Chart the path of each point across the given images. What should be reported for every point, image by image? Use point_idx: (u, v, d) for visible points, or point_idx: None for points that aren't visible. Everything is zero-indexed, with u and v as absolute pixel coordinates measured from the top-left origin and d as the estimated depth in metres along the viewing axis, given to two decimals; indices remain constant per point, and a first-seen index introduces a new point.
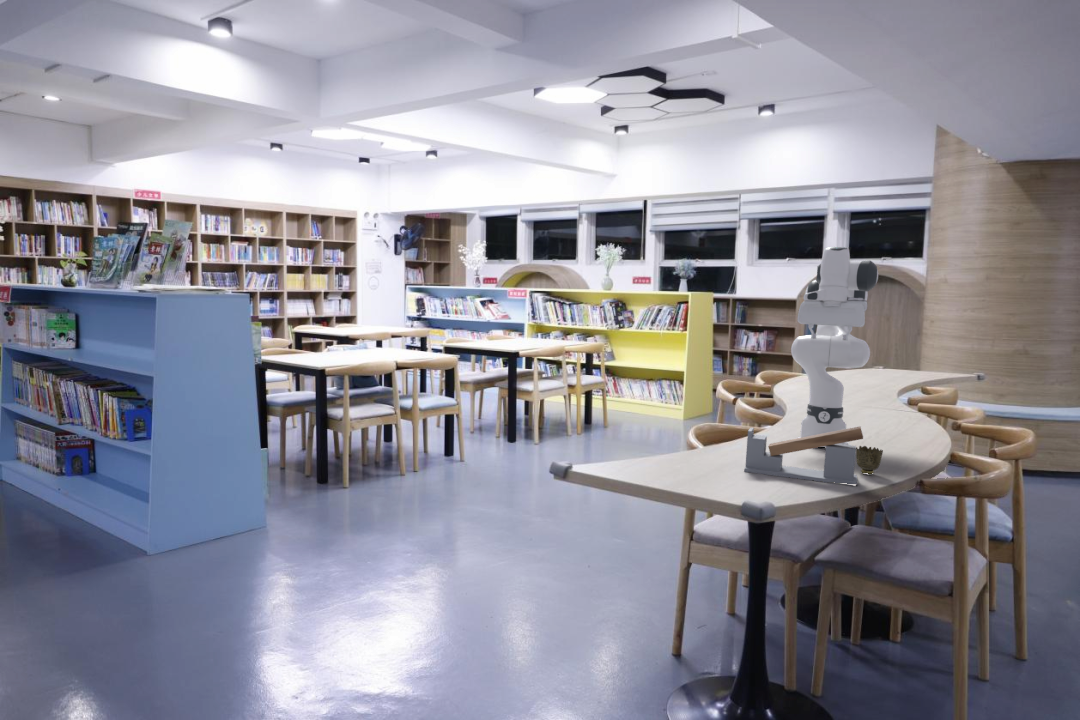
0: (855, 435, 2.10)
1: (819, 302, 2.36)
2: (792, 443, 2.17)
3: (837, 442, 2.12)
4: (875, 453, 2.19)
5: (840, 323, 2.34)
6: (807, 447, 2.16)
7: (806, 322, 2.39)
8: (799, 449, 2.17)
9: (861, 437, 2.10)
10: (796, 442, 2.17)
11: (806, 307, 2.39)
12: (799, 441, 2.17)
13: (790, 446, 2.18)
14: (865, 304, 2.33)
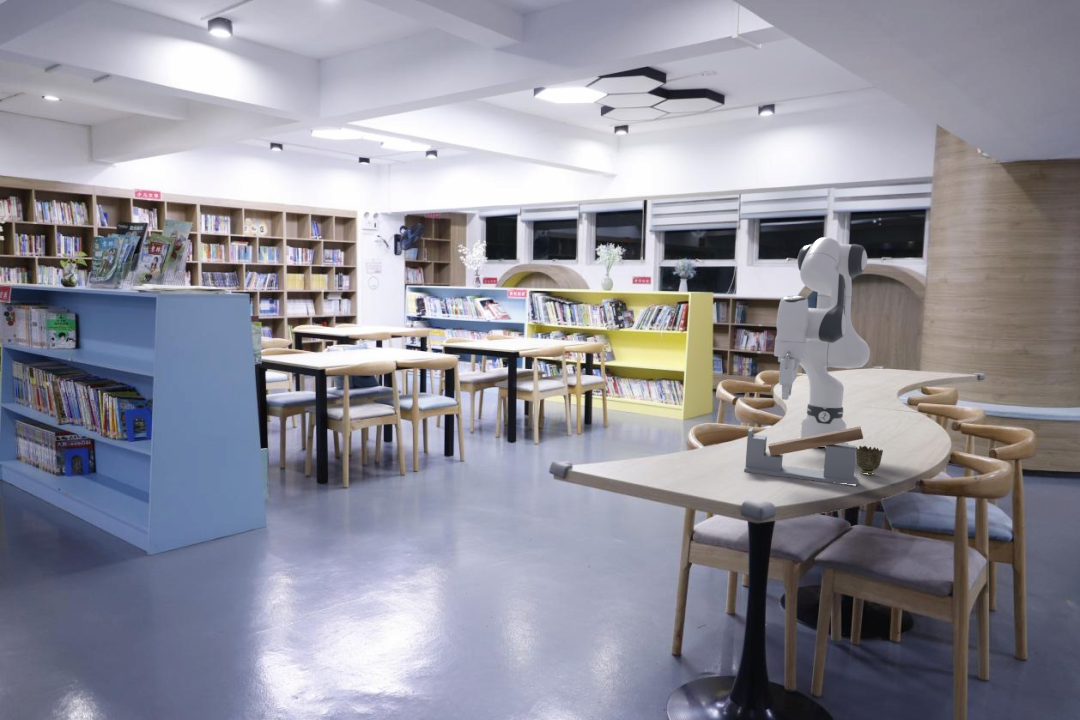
0: (855, 435, 2.10)
1: None
2: (792, 443, 2.17)
3: (837, 442, 2.12)
4: (875, 453, 2.19)
5: None
6: (807, 447, 2.16)
7: None
8: (799, 449, 2.17)
9: (861, 437, 2.10)
10: (796, 442, 2.17)
11: None
12: (799, 441, 2.17)
13: (790, 446, 2.18)
14: (785, 360, 2.09)
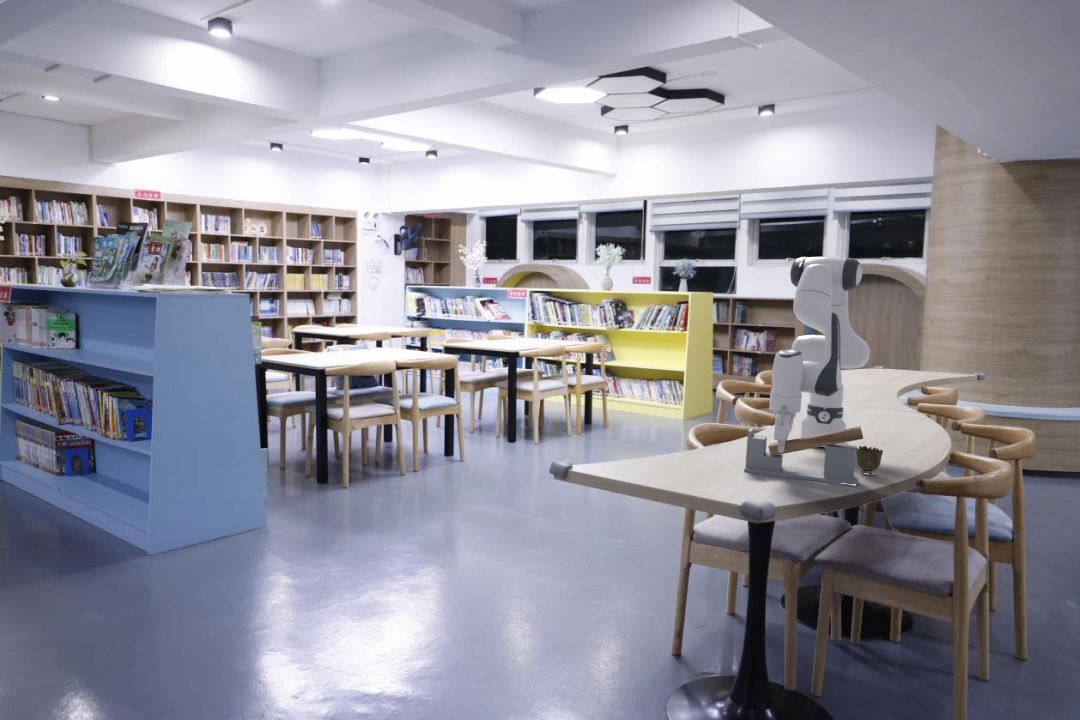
0: (855, 435, 2.10)
1: None
2: (792, 443, 2.17)
3: (837, 442, 2.12)
4: (875, 453, 2.19)
5: None
6: (807, 447, 2.16)
7: None
8: (799, 449, 2.17)
9: (861, 437, 2.10)
10: (796, 442, 2.17)
11: None
12: (799, 441, 2.17)
13: (790, 446, 2.18)
14: (780, 416, 2.10)
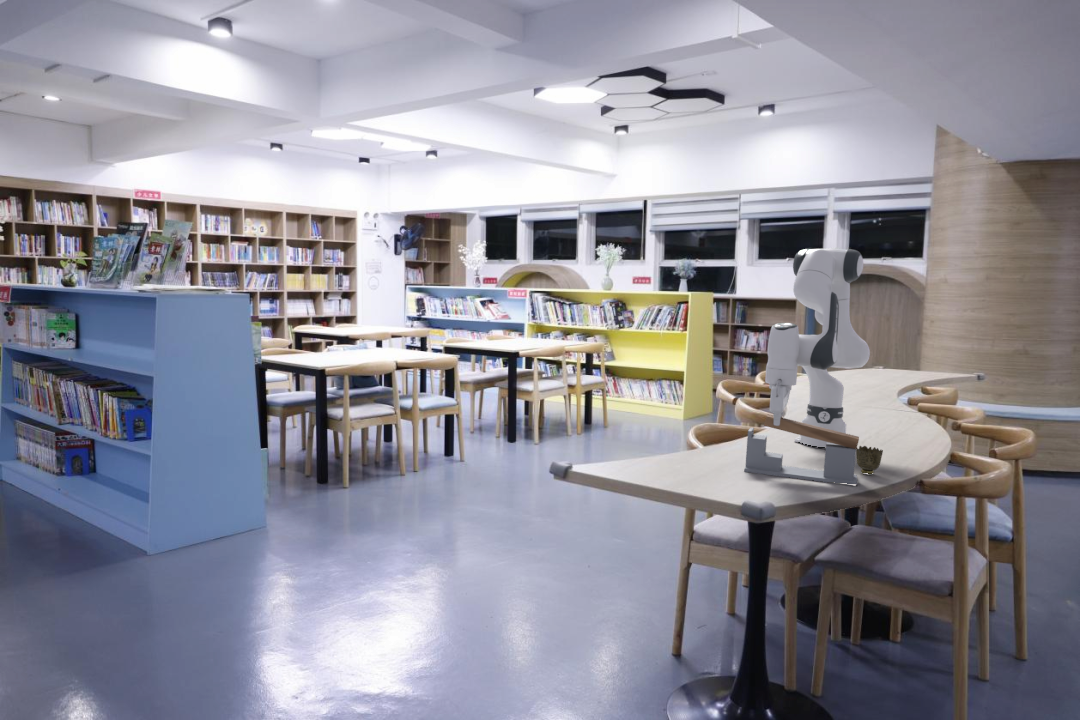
0: (850, 443, 2.11)
1: None
2: (789, 423, 2.17)
3: (831, 441, 2.13)
4: (875, 453, 2.19)
5: None
6: (801, 433, 2.16)
7: None
8: (793, 431, 2.17)
9: (855, 447, 2.11)
10: (794, 424, 2.17)
11: None
12: (797, 424, 2.16)
13: (786, 425, 2.18)
14: (776, 388, 2.10)
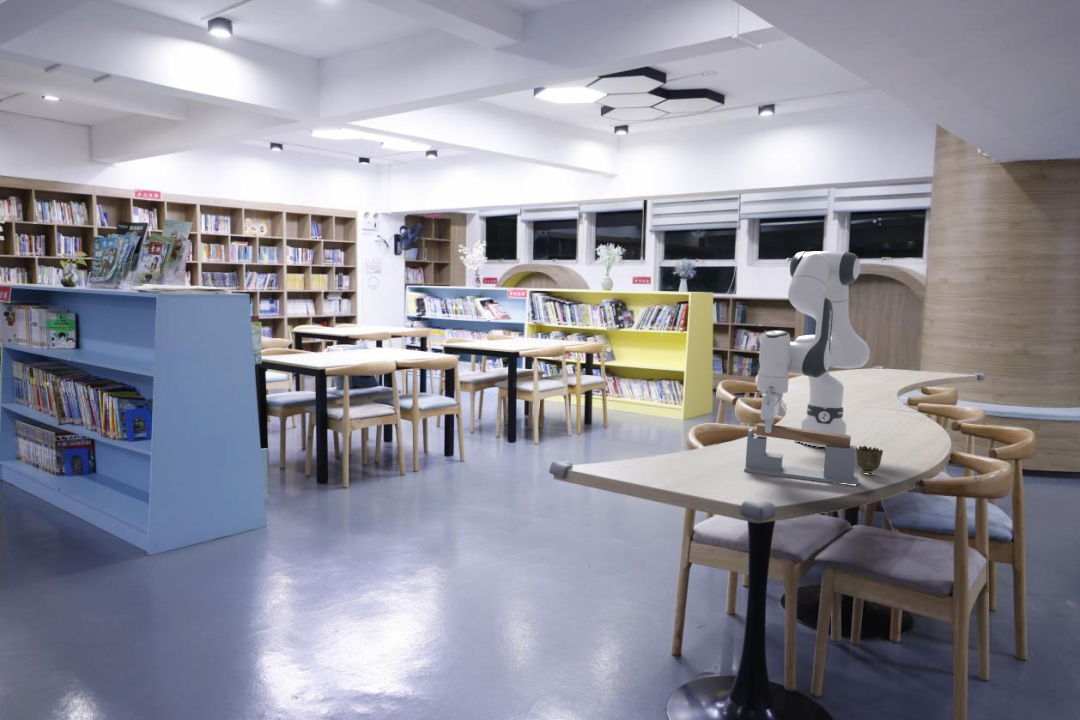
0: (843, 443, 2.12)
1: None
2: (781, 430, 2.18)
3: (823, 443, 2.14)
4: (875, 453, 2.19)
5: None
6: (793, 438, 2.17)
7: None
8: (785, 437, 2.18)
9: (848, 446, 2.11)
10: (785, 430, 2.18)
11: None
12: (788, 430, 2.17)
13: (777, 432, 2.19)
14: (767, 396, 2.11)
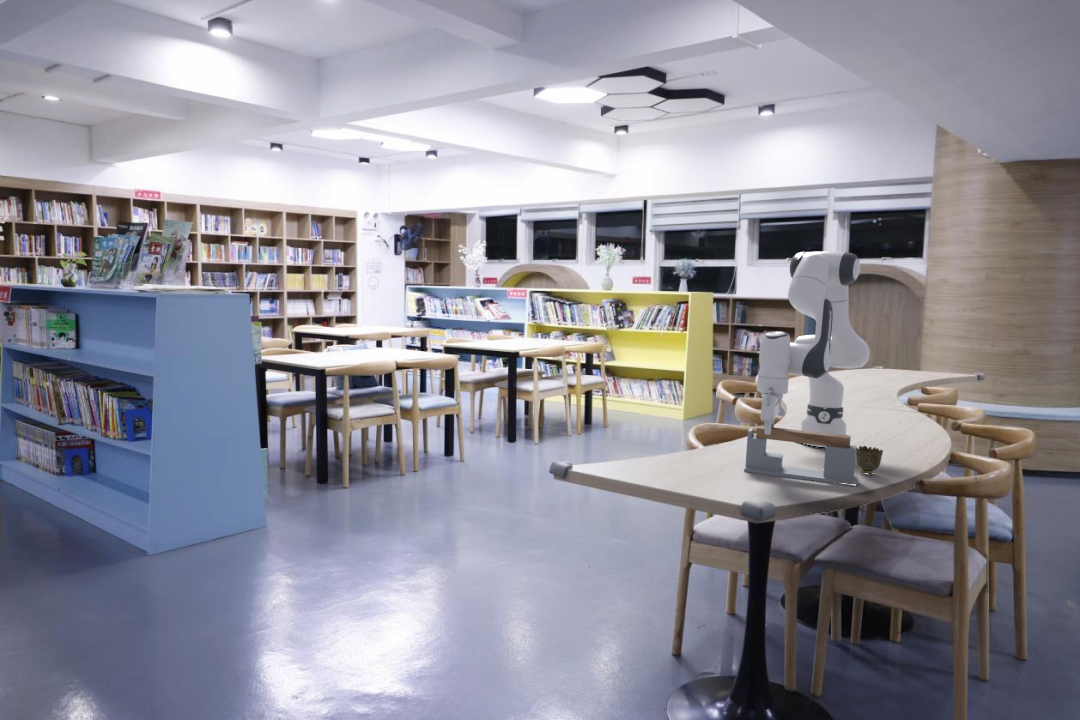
0: (843, 443, 2.12)
1: None
2: (780, 432, 2.18)
3: (823, 444, 2.14)
4: (875, 453, 2.19)
5: None
6: (793, 440, 2.17)
7: None
8: (785, 439, 2.18)
9: (848, 446, 2.11)
10: (784, 432, 2.18)
11: None
12: (788, 432, 2.18)
13: (777, 434, 2.19)
14: (767, 397, 2.11)
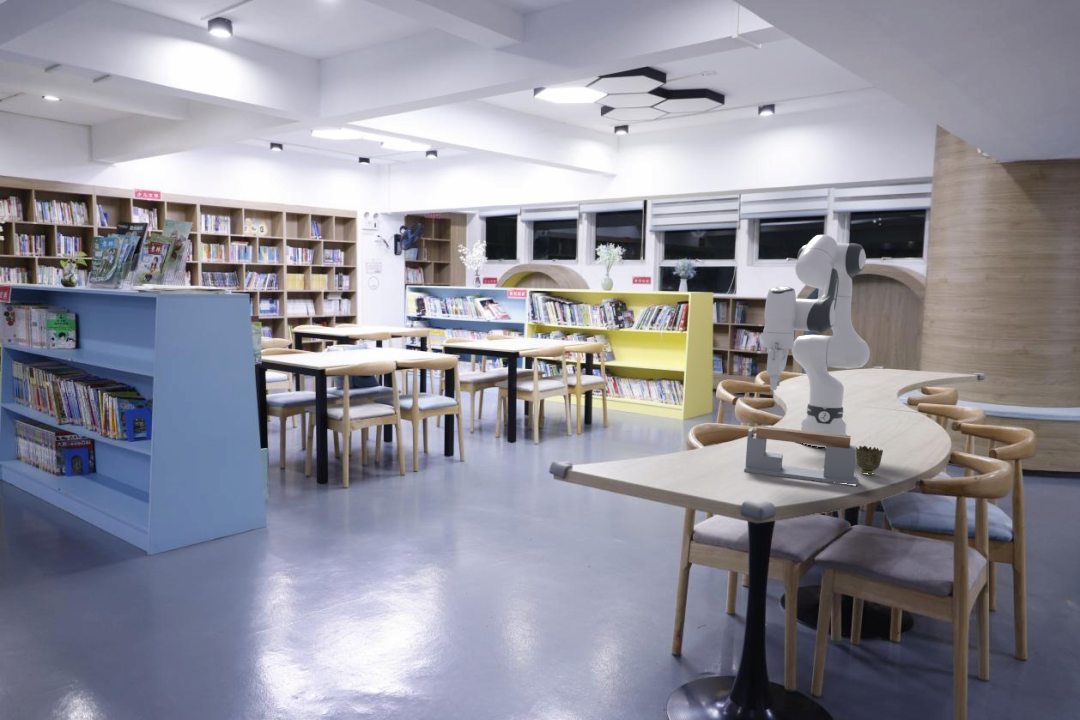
0: (843, 443, 2.12)
1: None
2: (780, 432, 2.18)
3: (823, 444, 2.14)
4: (875, 453, 2.19)
5: None
6: (793, 440, 2.17)
7: None
8: (785, 439, 2.18)
9: (848, 446, 2.11)
10: (784, 432, 2.18)
11: None
12: (788, 432, 2.18)
13: (777, 434, 2.19)
14: (772, 351, 2.11)
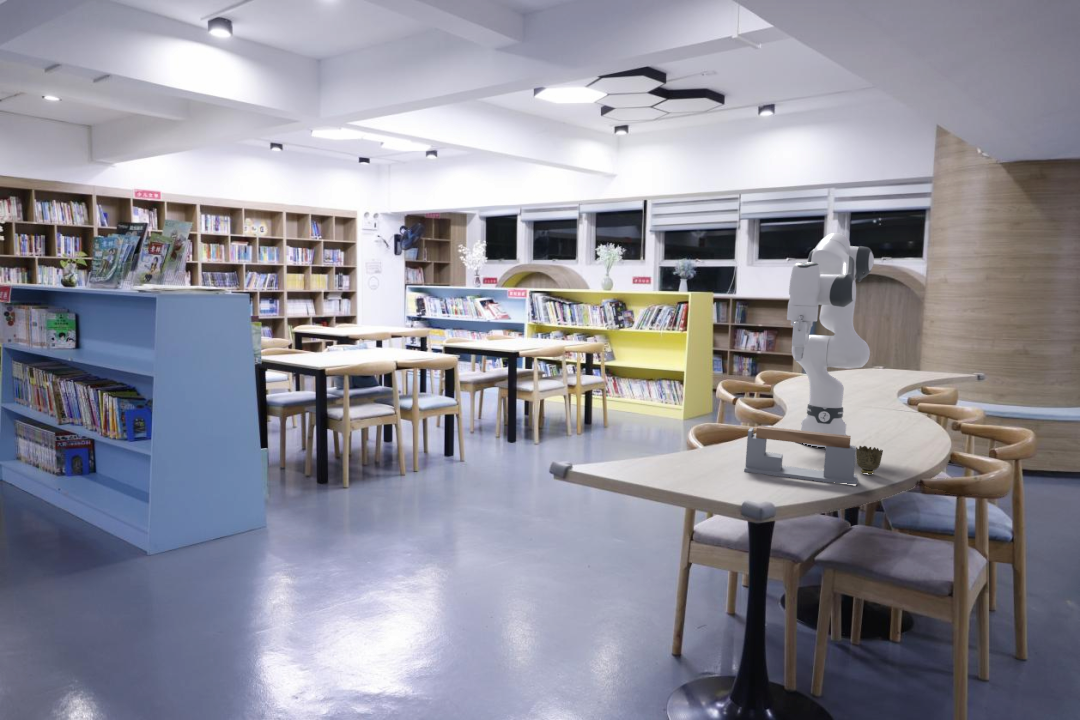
0: (843, 443, 2.12)
1: None
2: (780, 432, 2.18)
3: (823, 444, 2.14)
4: (875, 453, 2.19)
5: None
6: (793, 440, 2.17)
7: None
8: (785, 439, 2.18)
9: (848, 446, 2.11)
10: (784, 432, 2.18)
11: None
12: (788, 432, 2.18)
13: (777, 434, 2.19)
14: (798, 323, 2.18)
